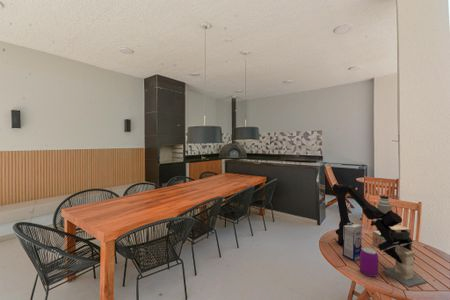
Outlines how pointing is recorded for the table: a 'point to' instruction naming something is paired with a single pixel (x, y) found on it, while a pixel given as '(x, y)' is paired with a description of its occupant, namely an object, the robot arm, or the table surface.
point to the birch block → (405, 263)
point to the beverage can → (369, 261)
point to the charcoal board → (408, 282)
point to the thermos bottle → (384, 205)
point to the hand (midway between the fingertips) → (408, 261)
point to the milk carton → (352, 241)
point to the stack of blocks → (378, 239)
